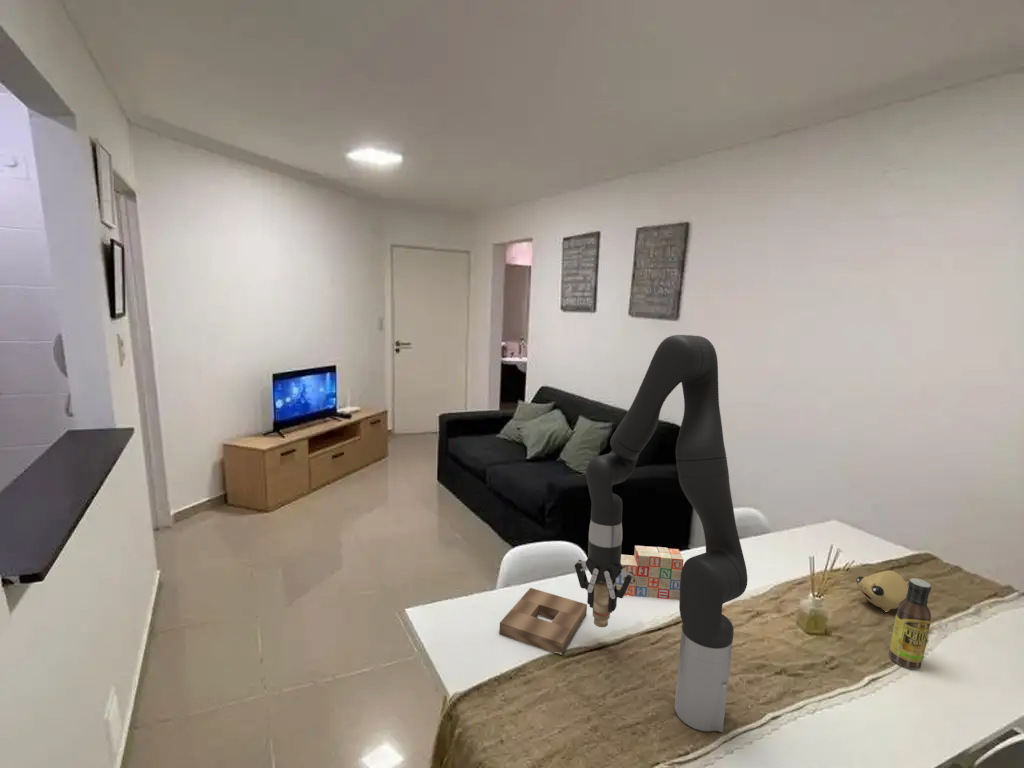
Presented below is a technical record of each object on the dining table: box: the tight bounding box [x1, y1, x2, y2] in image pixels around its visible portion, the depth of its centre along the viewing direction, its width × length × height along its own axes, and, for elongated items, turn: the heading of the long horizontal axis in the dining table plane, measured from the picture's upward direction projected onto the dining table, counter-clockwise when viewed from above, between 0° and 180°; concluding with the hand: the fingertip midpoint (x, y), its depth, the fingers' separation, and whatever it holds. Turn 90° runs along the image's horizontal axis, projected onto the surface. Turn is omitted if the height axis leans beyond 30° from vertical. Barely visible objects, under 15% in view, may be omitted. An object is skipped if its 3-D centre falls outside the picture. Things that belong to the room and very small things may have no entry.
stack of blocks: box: [616, 545, 685, 601], centre depth 146 cm, size 21×6×12 cm, turn 85°
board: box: [498, 587, 588, 653], centre depth 129 cm, size 16×18×3 cm
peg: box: [592, 581, 611, 628], centre depth 122 cm, size 4×4×10 cm
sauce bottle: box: [888, 577, 932, 670], centre depth 119 cm, size 6×6×20 cm
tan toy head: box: [855, 570, 909, 612], centre depth 143 cm, size 10×12×11 cm
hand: (601, 608), depth 122 cm, fingers closed on peg, 4 cm apart
